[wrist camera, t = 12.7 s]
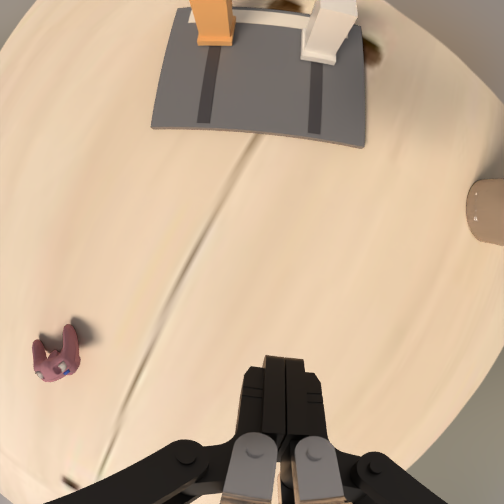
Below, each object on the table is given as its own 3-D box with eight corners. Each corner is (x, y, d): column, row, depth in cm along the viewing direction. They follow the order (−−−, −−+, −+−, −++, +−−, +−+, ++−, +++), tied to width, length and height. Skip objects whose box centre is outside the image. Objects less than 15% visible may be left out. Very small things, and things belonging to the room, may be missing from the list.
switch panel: (358, 29, 28) (361, 25, 26) (361, 148, 30) (364, 146, 29) (179, 12, 27) (177, 7, 26) (153, 129, 30) (150, 126, 28)
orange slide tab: (236, 20, 26) (232, -31, 17) (231, 45, 27) (226, -5, 17) (203, 19, 26) (192, -29, 17) (198, 45, 27) (182, -3, 17)
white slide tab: (333, 38, 27) (357, -7, 17) (333, 65, 27) (361, 22, 18) (301, 32, 27) (317, -16, 17) (300, 59, 27) (317, 12, 18)
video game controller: (52, 355, 35) (43, 390, 30) (33, 338, 33) (20, 373, 27) (91, 339, 35) (83, 379, 29) (69, 319, 32) (57, 359, 27)
